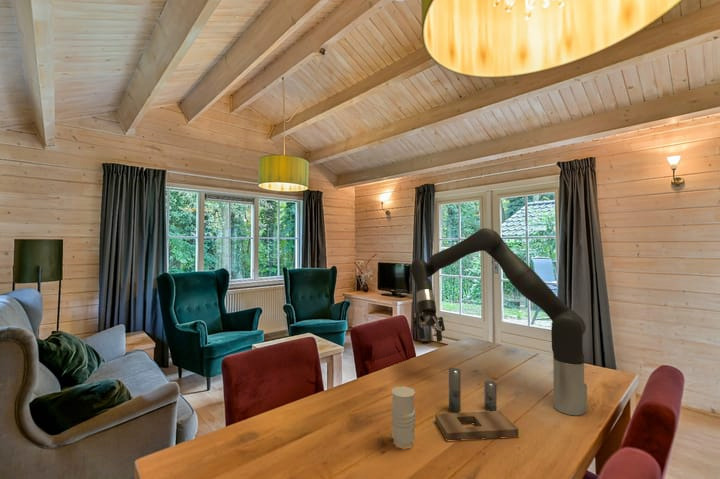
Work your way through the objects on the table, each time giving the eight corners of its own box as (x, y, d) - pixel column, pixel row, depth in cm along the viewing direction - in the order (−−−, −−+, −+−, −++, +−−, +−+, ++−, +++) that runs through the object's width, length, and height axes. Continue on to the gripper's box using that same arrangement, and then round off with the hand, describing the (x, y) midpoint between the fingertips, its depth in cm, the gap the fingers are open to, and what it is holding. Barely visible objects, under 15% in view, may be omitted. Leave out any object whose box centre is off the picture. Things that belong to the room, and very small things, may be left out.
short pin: (493, 405, 121) (493, 380, 121) (498, 411, 117) (498, 385, 117) (482, 406, 121) (482, 380, 121) (487, 411, 117) (487, 385, 117)
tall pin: (458, 407, 120) (458, 367, 120) (462, 413, 116) (462, 372, 116) (447, 407, 119) (447, 368, 119) (451, 413, 115) (451, 372, 115)
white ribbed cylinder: (414, 451, 94) (414, 398, 95) (390, 448, 96) (390, 395, 96) (415, 437, 101) (415, 387, 101) (392, 435, 103) (392, 385, 103)
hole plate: (499, 418, 112) (499, 410, 112) (518, 437, 101) (518, 429, 101) (435, 421, 110) (435, 413, 110) (447, 441, 99) (447, 433, 99)
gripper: (418, 296, 139) (422, 335, 130) (444, 302, 145) (451, 339, 136) (407, 302, 145) (411, 340, 136) (433, 308, 151) (439, 344, 142)
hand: (431, 340), depth 136 cm, fingers open, 8 cm apart
